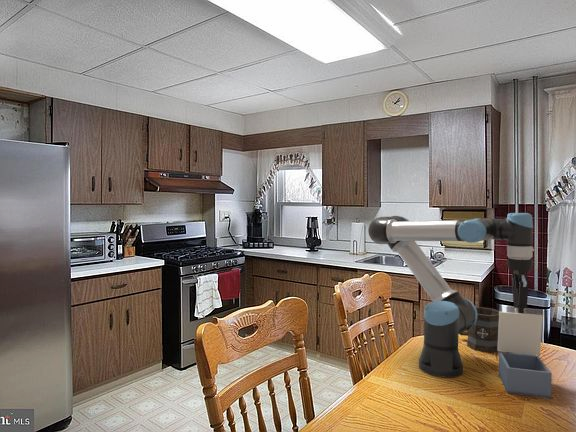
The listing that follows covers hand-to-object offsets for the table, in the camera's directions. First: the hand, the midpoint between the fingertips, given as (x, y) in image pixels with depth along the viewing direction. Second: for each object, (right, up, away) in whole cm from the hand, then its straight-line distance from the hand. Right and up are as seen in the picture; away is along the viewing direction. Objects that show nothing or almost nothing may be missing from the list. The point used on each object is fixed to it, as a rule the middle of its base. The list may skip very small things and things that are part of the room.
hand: (519, 326), depth 136 cm
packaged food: (+9, -18, +14) cm, 24 cm away
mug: (0, -17, +31) cm, 35 cm away
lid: (-1, -2, -2) cm, 3 cm away
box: (-3, -18, -6) cm, 19 cm away
